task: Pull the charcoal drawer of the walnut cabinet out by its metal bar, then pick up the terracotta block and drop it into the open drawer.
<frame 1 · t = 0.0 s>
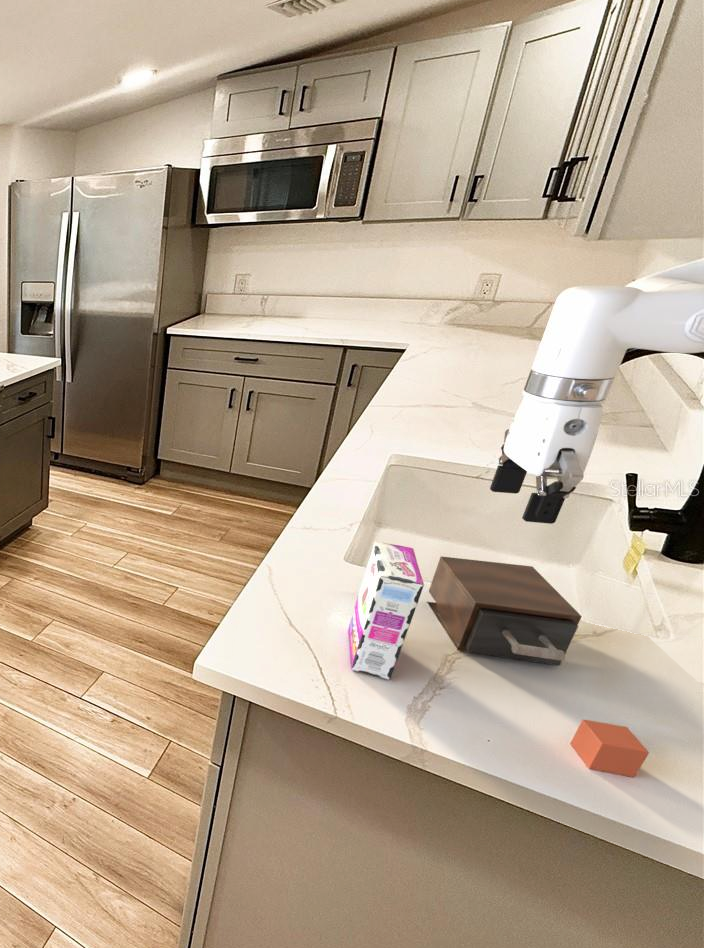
hand: (519, 506, 85), 22 cm above the worktop, tool pointing down, fingers open, 9 cm apart
block: (601, 760, 73), on the worktop
cabinet: (486, 630, 95), on the worktop
candy bar box: (368, 655, 92), on the worktop
drawer: (508, 623, 90), point 4 cm above the worktop, slide at 0.0 cm
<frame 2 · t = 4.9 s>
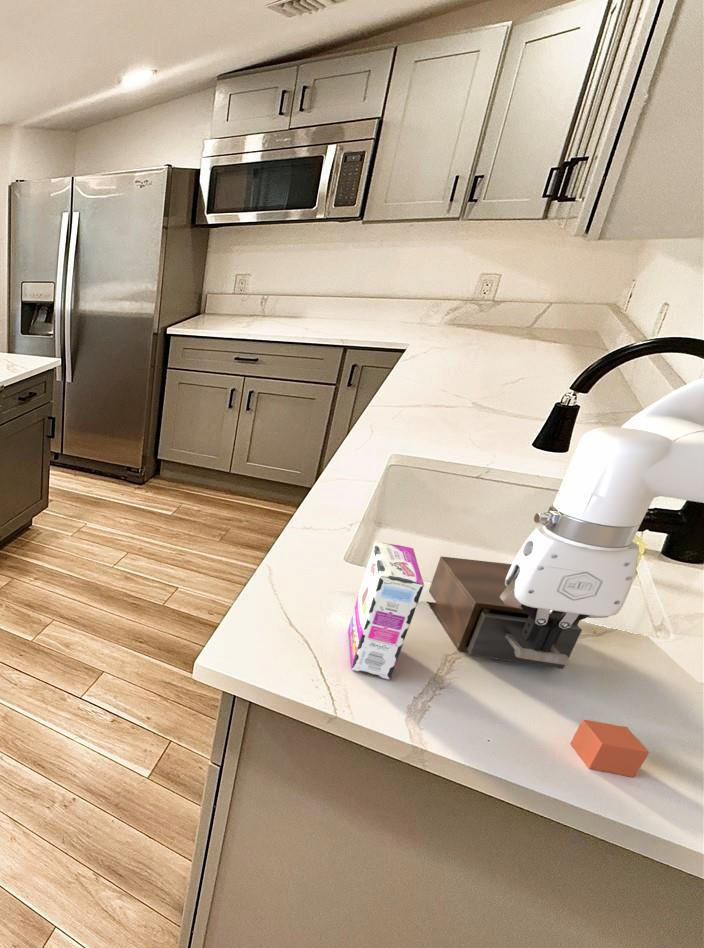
hand: (535, 644, 83), 6 cm above the worktop, tool pointing down, fingers closed
drawer: (511, 626, 89), point 4 cm above the worktop, slide at 0.9 cm, touching gripper
everything else where it was.
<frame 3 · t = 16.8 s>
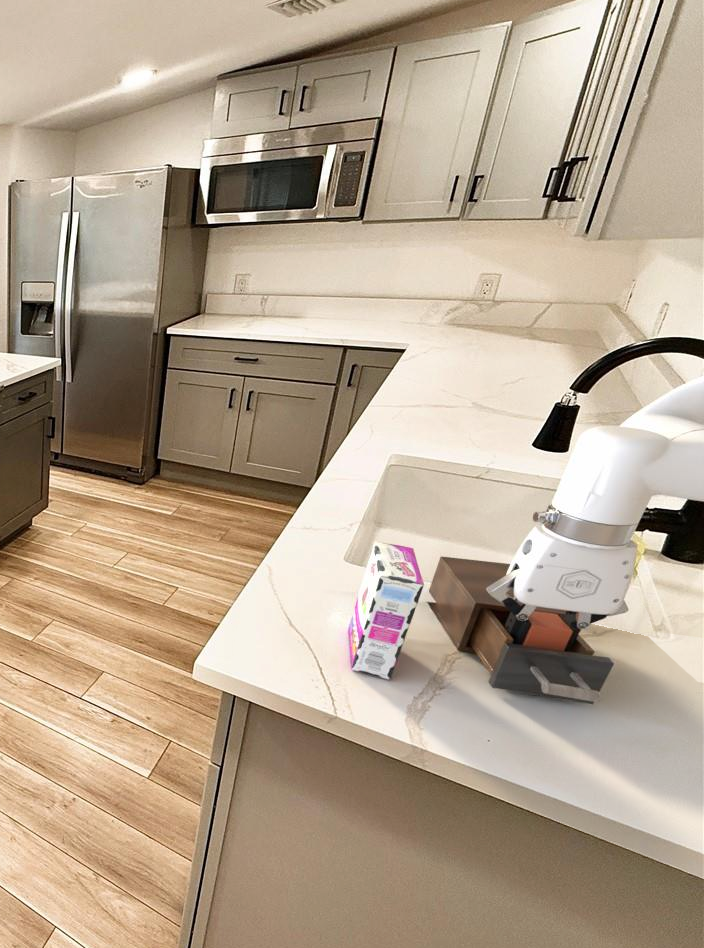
hand: (535, 641, 84), 6 cm above the worktop, tool pointing down, fingers closed on block, 4 cm apart
block: (534, 643, 84), point 6 cm above the worktop, touching gripper
drawer: (535, 657, 83), point 4 cm above the worktop, slide at 8.0 cm, touching gripper
everything else where it was.
when the fingers open (8 cm above the worktop, at t = 23.4 s): block drops 5 cm, resting on drawer.
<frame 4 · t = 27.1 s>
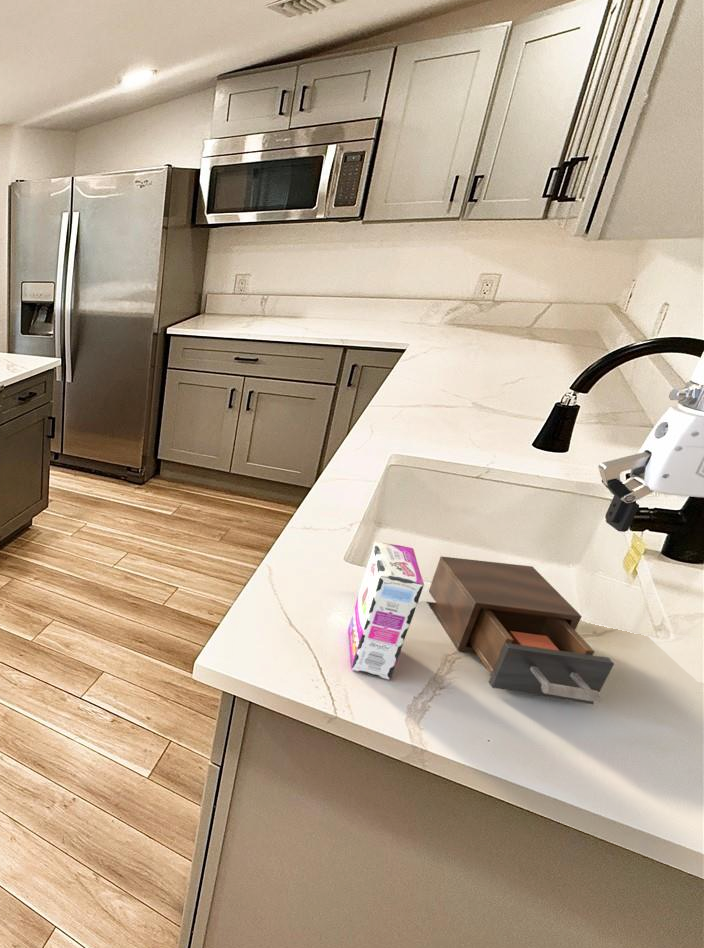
hand: (667, 531, 77), 22 cm above the worktop, tool pointing down, fingers open, 9 cm apart
block: (525, 665, 85), point 2 cm above the worktop, touching drawer
drawer: (535, 657, 83), point 4 cm above the worktop, slide at 8.0 cm, touching block
everything else where it was.
at the end: drawer slide at 8.0 cm; block inside the target area in the drawer (0.4 cm from its centre), point 2.0 cm above the cabinet's base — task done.
